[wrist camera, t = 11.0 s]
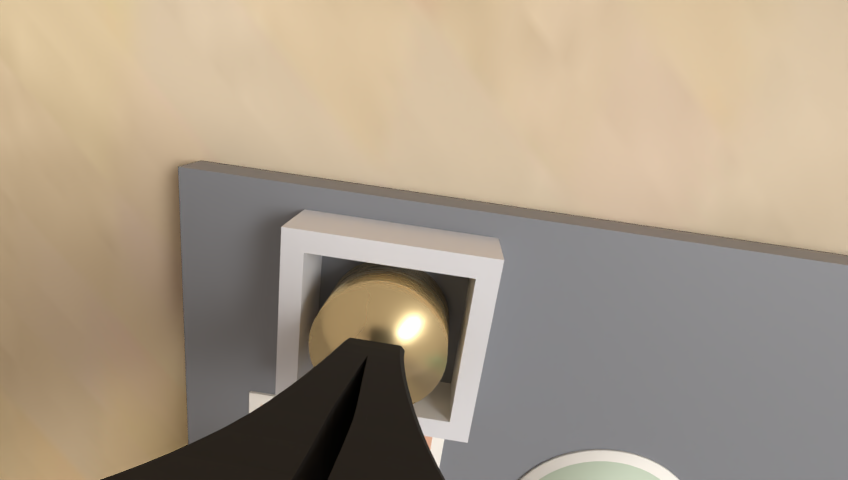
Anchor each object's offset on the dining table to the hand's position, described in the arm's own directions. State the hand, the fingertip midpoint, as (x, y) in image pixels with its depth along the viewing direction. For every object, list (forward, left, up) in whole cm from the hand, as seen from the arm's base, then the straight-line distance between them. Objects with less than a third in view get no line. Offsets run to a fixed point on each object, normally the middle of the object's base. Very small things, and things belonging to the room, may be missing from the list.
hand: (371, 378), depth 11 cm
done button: (0, 0, -3) cm, 3 cm away
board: (-3, -6, -5) cm, 8 cm away
